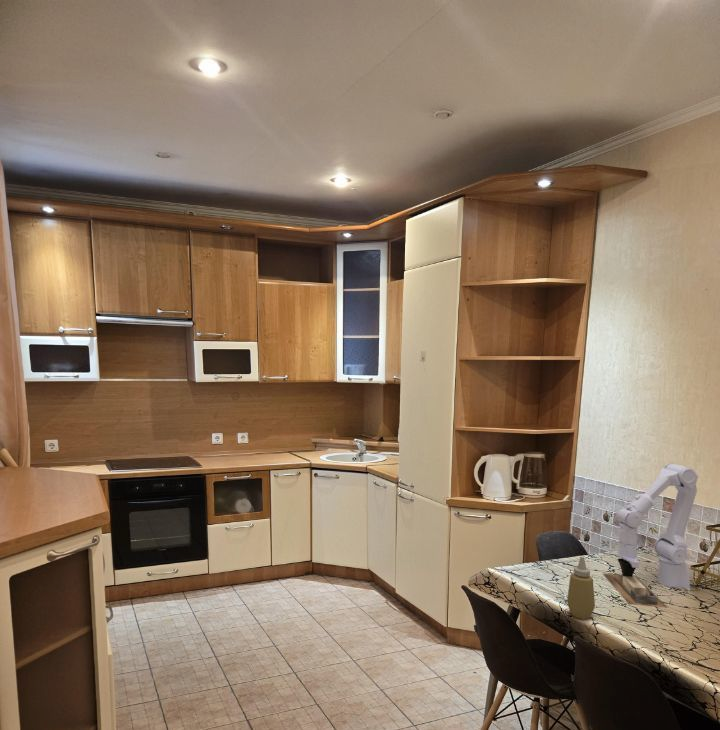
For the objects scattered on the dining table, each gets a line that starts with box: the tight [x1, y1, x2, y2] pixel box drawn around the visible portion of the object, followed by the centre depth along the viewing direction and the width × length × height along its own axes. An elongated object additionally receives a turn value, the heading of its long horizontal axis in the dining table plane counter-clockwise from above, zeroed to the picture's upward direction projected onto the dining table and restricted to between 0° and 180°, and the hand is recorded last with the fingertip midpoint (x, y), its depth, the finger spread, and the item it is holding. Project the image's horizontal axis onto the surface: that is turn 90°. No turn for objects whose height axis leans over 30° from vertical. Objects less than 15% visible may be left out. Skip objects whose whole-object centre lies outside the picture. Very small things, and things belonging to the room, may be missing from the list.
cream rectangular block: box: [623, 576, 646, 595], centre depth 178 cm, size 4×10×3 cm, turn 172°
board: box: [602, 573, 669, 608], centre depth 179 cm, size 12×26×3 cm, turn 172°
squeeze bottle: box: [566, 556, 596, 620], centre depth 159 cm, size 8×8×18 cm
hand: (627, 580), depth 184 cm, fingers closed
